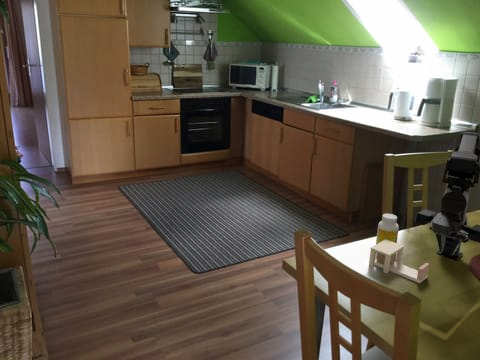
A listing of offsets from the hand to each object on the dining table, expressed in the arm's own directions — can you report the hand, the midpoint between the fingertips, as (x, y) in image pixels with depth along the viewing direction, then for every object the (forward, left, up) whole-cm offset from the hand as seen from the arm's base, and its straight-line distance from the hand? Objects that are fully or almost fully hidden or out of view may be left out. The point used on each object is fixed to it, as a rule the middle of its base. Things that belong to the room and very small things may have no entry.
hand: (446, 253), depth 124 cm
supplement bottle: (-11, -24, -12) cm, 29 cm away
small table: (0, -14, -12) cm, 18 cm away
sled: (0, -13, -11) cm, 17 cm away
